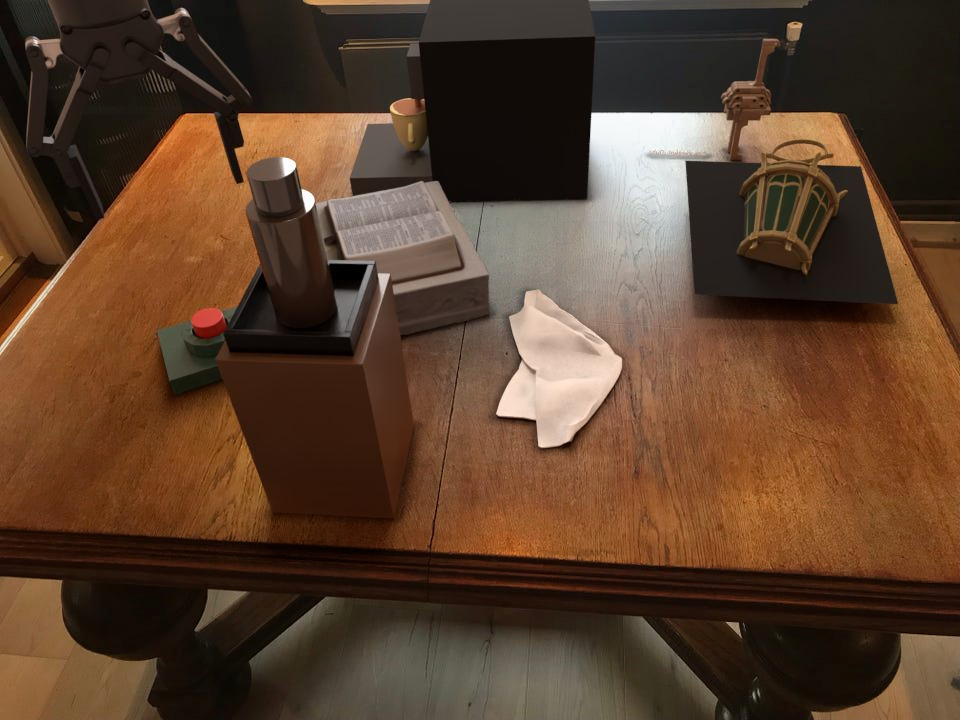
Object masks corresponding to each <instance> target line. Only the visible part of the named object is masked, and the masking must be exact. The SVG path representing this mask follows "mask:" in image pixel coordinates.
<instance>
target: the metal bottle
mask: <svg viewBox="0 0 960 720" xmlns="http://www.w3.org/2000/svg"><path fill="white" fill-rule="evenodd" d="M245 174H246V178H247V182H248V185H249V189H250V193H251V196H252V199H251V200H250V201H249V202H248V203H247V205H246V207H245V215H246V218H247V222H248V226H249V229H250V233H251V236H252V240H253V243H254V246H255V250H256V252H257V257H258V260H259V264H261V267H262V271H263V274H264V278H265V281H266V285H267V288H268V292H269V295H270V298H271V302H272V305H273V309H274V312H275V316H276V318H277V320H278V321H279V322H280V323H281V324H283V325H284V326H287V327H290V328H297V329H303V328H310V327H314V326H317V325H320V324H322V323H324V322H326V321H327V320H328V319H330V318H331V317H332V316H333V315H334V313H335V312H336V310H337V306H338V303H337V298H336V294H335V289H334V285H333V280H332V275H331V271H330V266H329V262H328V257H327V252H326V248H325V243H324V239H323V234H322V229H321V225H320V220H319V216H318V211H317V206H316V203H317V202H316V197H315V196H314V195H313V193H311V192H310V191H309V190H306V189H304V188H302V185H301V180H300V176H299V172H298V167H297V163H296V162H295V161H294V159H292V158H288V157H284V156H282V157H281V156H274V157H273V156H272V157H267V158H263V159H260V160H257V161H255V162H254V163H252V164H251V165H249V166H248V167H247V169H246V172H245Z"/></svg>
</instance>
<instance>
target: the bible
mask: <svg viewBox="0 0 960 720" xmlns="http://www.w3.org/2000/svg"><path fill="white" fill-rule="evenodd" d="M316 206H317V211H318V216H319V220H320V225H321V229H322V234H323V239H324V243H325V248H326V252H327V257H328V260H358V261H376V266H377V272H378V273H384V274H391V280H392V286H393V292H394V299H395V305H396V312H397V318H398V325H399V331H400V336H404V335H406V336H408V335H410V334H416V333H420V332H423V331H428V330H429V331H430V330H433V329H437V328H440V327H445V326H449V325H452V324H459V323H461V324H462V323H463V322H469V321H471V320H474V319H478V318H481V317H484V316H488V315H490V313H491V312H490V305H489V304H490V303H489V300H490V285H489V283H490V281H489V279H490V274H489V271H488V269H487V268H486V266H485V264H484V263H483V261H482V259H481V257H480V256H479V254H478V252H477V250H476V248H475V247H474V244H473V243H472V241H471V238H470V236H469V235H468V232H467V231H466V228H464V225H463V224H462V222H461V221H460V219H459V218H458V216H457V214H456V213H455V210H454V209H453V207H452V205H451V202H449V201H448V199H447V198H446V196H445V194H444V192H443V190H442V188H441V185H440V183H439V182H438V181H432V182H427V183H424V182H423V181H420V182H417V183H414V184H411V185H408V186H405V187H399V188H394V189H389V190H384V191H378V192H373V193H368V194H362V195H357V196H353V195H352V196H346V197H341V198H330V199H327V200H323V201H318V202H316Z"/></svg>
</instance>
